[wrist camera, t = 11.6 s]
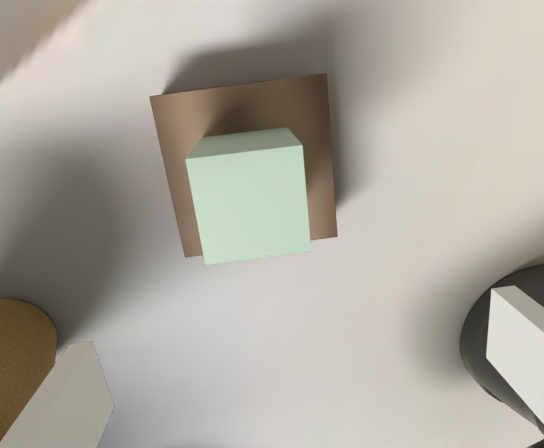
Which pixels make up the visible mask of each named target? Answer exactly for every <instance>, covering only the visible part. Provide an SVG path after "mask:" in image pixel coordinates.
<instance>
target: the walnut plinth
mask: <svg viewBox="0 0 544 448" xmlns="http://www.w3.org/2000/svg"><path fill="white" fill-rule="evenodd" d="M150 102H151V106H152V111H153V115H154V120H155V124H156V129H157V133H158V138H159V142H160V147H161V151H162V156H163V160H164V165H165V169H166V174H167V178H168V183H169V187H170V192H171V197H172V201H173V206H174V210H175V215H176V219H177V224H178V228H179V233H180V237H181V242H182V246H183V251H184V255H185V257H192V256H200V255H203V250H202V245H201V240H200V235H199V229H198V224H197V219H196V213H195V208H194V203H193V197H192V192H191V187H190V182H189V176H188V171H187V166H186V160H185V159H186V158H187V156H188V155H189V154H190V152H191V151H192V150H193V149H194V147H195V146H196V145H197V143H198V142H199V141H200V140H201V138H202V137H210V136H218V135H227V134H235V133H243V132H252V131H260V130H268V129H277V128H285V127H288V129H289V130H290V131H291V132H292V133H293V135H294V136H295V137H296V138H297V139H298V140H299V142H300V143H301V144H302V145H303V157H304V169H305V182H306V194H307V206H308V219H309V231H310V240H317V239H325V238H332V237H337V222H336V208H335V193H334V178H333V163H332V148H331V133H330V118H329V103H328V89H327V74H315V75H308V76H300V77H292V78H285V79H277V80H269V81H262V82H254V83H246V84H238V85H231V86H223V87H215V88H208V89H200V90H192V91H185V92H177V93H169V94H162V95H156V96H150Z"/></svg>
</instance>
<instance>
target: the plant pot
mask: <svg viewBox="0 0 544 448" xmlns="http://www.w3.org/2000/svg"><path fill="white" fill-rule="evenodd" d="M56 349H57V331H56V328H55V326H54V324H53V322H52V321H51V319H50V318H49V317H48V316H47V315H46V314H45V313H44V312H43V311H42V310H41V309H39V308H37V307H36V306H34V305H32V304H30V303H27V302H24V301H21V300H15V299H1V300H0V442H1V440H2V439H3V437H4V436H5V435H6V433H7V432H8V430H9V429H10V427H11V426H12V425H13V423H14V422H15V420H16V419H17V418H18V416H19V415H20V413H21V412H22V411H23V409H24V408H25V406H26V405H27V404H28V402H29V401H30V399H31V398H32V396H33V395H34V394H35V392H36V391H37V389H38V388H39V387H40V385H41V384H42V382H43V381H44V380H45V378H46V377H47V375H48V374H49V372H50V371H51V370H52V368H53V367H54V363H55V356H56Z"/></svg>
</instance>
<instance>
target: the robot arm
mask: <svg viewBox="0 0 544 448" xmlns="http://www.w3.org/2000/svg"><path fill="white" fill-rule="evenodd" d="M460 353H461V357H462V360H463V363H464V365H465V367H466V368H467V370H468V371H469V373H470V374H471V375H472V376H473V378H474V379H475V380H476V382H477V383H478V384H479V386H480V387H481V388H482V389H483V390H484V391H486V392H487V393H488V394H489V395H491V396H492V397H494V398H495V399H497V400H499V401H501V402H503V403H505V404H506V405H508V406H509V407H510V408H512V409H513V410H514V411H516V412H517V413H518V414H520V415H521V416H523V417H524V418H526V419H527V420H528V421H530V422H531V423H533V424H534V425H535V426H537V427H538V429H539V430H540V431H541V432H542V433H543V434H544V265H541V266H535V267H531V268H528V269H524V270H522V271H519V272H517V273H514V274H512V275H510V276H508V277H507V278H505V279H503V280H501V281H500V282H498V283H497V284H496V285H494V286H493V287H492V288H490V289H489V290H488V291H487V292H486V293H485V294H484V295H483V296H482V297H481V298H480V299H479V300H478V301H477V303H476V304H475V305H474V307H473V308H472V309H471V311H470V313H469V314H468V316H467V318H466V320H465V323H464V325H463V328H462V332H461V337H460ZM113 409H114V404H113V401H112V398H111V395H110V392H109V388H108V385H107V382H106V379H105V376H104V373H103V370H102V367H101V364H100V361H99V358H98V355H97V352H96V349H95V346H94V343H93V341H90V342H82V343H75V344H69V346H68V347H67V348H66V350H65V351H64V353H63V354H62V356H61V357H60V358H59V360H58V361H57V363H56V364H55V365H54V367H53V368H52V370H51V371H50V372H49V374H48V375H47V377H46V378H45V380H44V381H43V382H42V384H41V385H40V387H39V388H38V389H37V391H36V392H35V394H34V395H33V396H32V398H31V399H30V401H29V402H28V404H27V405H26V406H25V408H24V409H23V411H22V412H21V413H20V415H19V416H18V418H17V419H16V420H15V422H14V423H13V425H12V426H11V427H10V429H9V430H8V432H7V433H6V435H5V436H4V437H3V439H2V440H1V442H0V448H97V447H98V444H99V442H100V440H101V437H102V435H103V433H104V430H105V428H106V426H107V423H108V421H109V419H110V416H111V414H112V412H113ZM527 448H544V439H543V440H541V441H539V442H537V443H535V444H533V445H531V446H529V447H527Z"/></svg>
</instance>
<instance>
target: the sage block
mask: <svg viewBox="0 0 544 448" xmlns="http://www.w3.org/2000/svg"><path fill="white" fill-rule="evenodd" d="M185 160H186V166H187V171H188V176H189V182H190V187H191V192H192V197H193V203H194V208H195V213H196V219H197V224H198V229H199V235H200V240H201V245H202V250H203V256H204V261H205V265H209V264H217V263H225V262H233V261H241V260H249V259H257V258H265V257H273V256H281V255H288V254H296V253H304V252H311V243H310V231H309V219H308V206H307V194H306V182H305V169H304V157H303V145H302V144H301V143H300V142H299V140H298V139H297V138H296V137H295V136H294V135H293V133H292V132H291V131H290V130H289V129H288V127H285V128H277V129H268V130H260V131H252V132H243V133H235V134H227V135H218V136H210V137H202V138H201V140H200V141H199V142H198V143H197V145H196V146H195V147H194V149H193V150H192V151H191V152H190V154H189V155H188V156H187V158H186V159H185Z"/></svg>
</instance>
